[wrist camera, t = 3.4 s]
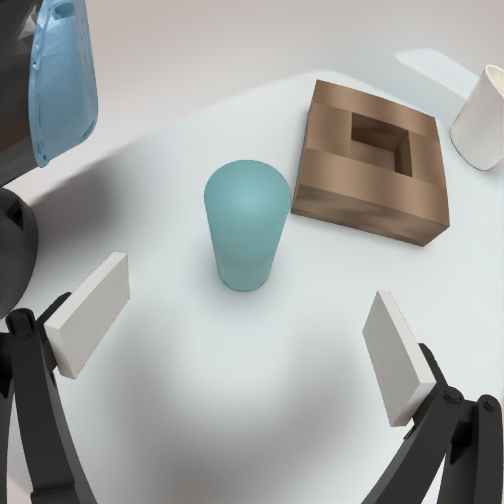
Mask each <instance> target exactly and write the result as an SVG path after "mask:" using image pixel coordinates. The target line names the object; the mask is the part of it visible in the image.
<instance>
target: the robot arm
mask: <svg viewBox="0 0 504 504" xmlns="http://www.w3.org/2000/svg"><path fill="white" fill-rule="evenodd" d="M97 117H98V98H97V88H96V79H95V71H94V63H93V55H92V48H91V40H90V33H89V25H88V18H87V11H86V5H85V0H0V318H2V317H3V316H5V315H6V314H7V313H8V312H9V311H10V310H11V309H12V308H13V307H14V305H15V304H16V303H17V301H18V300H19V299H20V297H21V295H22V294H23V292H24V290H25V288H26V286H27V284H28V281H29V279H30V276H31V273H32V270H33V266H34V262H35V258H36V252H37V226H36V221H35V218H34V215H33V213H32V211H31V209H30V207H29V206H28V205H27V204H26V203H25V202H24V201H23V200H22V199H21V198H20V197H19V196H18V195H16V194H15V193H14V192H12V191H10V190H8V189H5V188H2V187H3V186H4V185H6V184H8V183H9V182H11V181H13V180H15V179H16V178H18V177H20V176H21V175H23V174H25V173H27V172H28V171H30V170H32V169H34V168H36V167H40V168H43V167H45V166H46V165H47V164H48V163H49V161H50V160H51V159H53V158H55V157H57V156H58V155H60V154H62V153H64V152H65V151H67V150H69V149H71V148H73V147H75V146H77V145H78V144H81V143H82V142H83V141H85V140H86V139H87V138H88V137H89V136H90V134H91V133H92V131H93V130H94V128H95V125H96V122H97ZM129 299H130V291H129V277H128V260H127V253H121V252H115V251H114V252H113V253H112V254H111V255H110V256H109V257H108V258H107V259H106V260H105V261H104V262H103V263H102V264H101V265H100V266H99V267H98V268H97V269H96V270H95V271H94V272H93V273H92V274H91V275H90V276H89V277H88V278H87V279H86V280H85V281H84V282H83V283H82V284H81V285H80V286H79V287H78V288H77V289H76V290H75V291H74V292H73V293H70V292H67V293H65V294H63V295H61V296H59V297H58V298H57V299H56V300H55V301H54V302H53V304H51V305H50V306H49V307H48V309H46V310H45V312H44V313H43V314H42V315H41V316H40V317H39V318H38V319H37V320H36V321H35V317H34V314H33V312H32V311H31V310H30V309H27V308H19V309H16V310H13V311H12V312H10V313H9V314H8V315H7V316H6V319H5V322H6V324H7V327H8V330H9V333H2V332H0V504H7V487H6V485H7V484H6V483H7V482H6V481H7V450H8V436H9V426H10V417H11V409H12V401H13V395H14V393H15V402H16V409H17V416H18V423H19V428H20V434H21V439H22V444H23V449H24V454H25V458H26V462H27V466H28V470H29V474H30V478H31V482H32V485H33V492H32V493H31V497H30V498H31V502H32V504H97V502H96V500H95V498H94V495H93V493H92V491H91V488H90V486H89V484H88V481H87V479H86V476H85V474H84V471H83V469H82V466H81V464H80V461H79V458H78V455H77V453H76V450H75V447H74V444H73V441H72V438H71V435H70V432H69V429H68V425H67V422H66V419H65V415H64V412H63V408H62V404H61V400H60V397H59V393H58V388H57V384H56V380H55V376H54V373H53V370H54V369H55V367H56V366H57V367H58V369H59V372H60V375H63V376H65V377H68V378H71V379H74V380H75V379H76V377H77V376H78V374H79V373H80V371H81V369H82V368H83V366H84V365H85V363H86V362H87V360H88V359H89V357H90V356H91V354H92V352H93V351H94V349H95V348H96V346H97V345H98V343H99V342H100V340H101V339H102V337H103V336H104V335H105V333H106V332H107V330H108V329H109V327H110V326H111V324H112V323H113V321H114V320H115V318H116V317H117V316H118V314H119V313H120V311H121V310H122V308H123V307H124V306H125V304H126V303H127V301H128V300H129ZM362 333H363V336H364V339H365V342H366V345H367V348H368V351H369V355H370V358H371V361H372V364H373V367H374V371H375V374H376V377H377V381H378V384H379V387H380V391H381V394H382V398H383V401H384V405H385V408H386V412H387V416H388V419H389V423H390V427H397V426H406V425H407V424H408V422H409V421H410V420H411V418H413V421H414V426H413V427H412V428H411V430H410V431H409V432H408V433H407V434H406V436H405V437H404V438H403V439H404V442H403V443H402V445H401V447H400V448H399V450H398V452H397V453H396V455H395V456H394V458H393V459H392V461H391V462H390V464H389V466H388V467H387V469H386V470H385V471H384V473H383V474H382V476H381V477H380V479H379V480H378V482H377V483H376V484H375V486H374V487H373V489H372V490H371V491H370V493H369V494H368V495H367V497H366V498H365V499H364V501H363V502H362V503H361V504H421V502H422V501H423V499H424V497H425V495H426V493H427V491H428V489H429V487H430V485H431V483H432V481H433V479H434V477H435V475H436V473H437V471H438V469H439V467H440V465H441V462H442V460H443V458H444V456H445V453H446V456H445V463H444V469H443V475H442V480H441V485H440V490H439V495H438V500H437V504H501V502H502V490H503V425H502V412H501V406H500V403H499V402H498V400H497V399H495V398H494V397H493V396H491V395H486V394H485V395H482V396H481V397H480V398H479V399H478V401H477V402H474V401H469V400H465V399H464V397H463V395H462V394H461V392H460V391H459V390H457V389H456V388H454V387H451V386H448V384H447V382H446V380H445V378H444V376H443V374H442V372H441V370H440V368H439V366H438V364H437V362H436V360H434V359H435V358H434V356H433V354H432V352H431V350H430V349H429V348H428V347H427V346H426V345H425V344H423V343H417V341H416V339H415V337H414V335H413V333H412V331H411V329H410V327H409V325H408V323H407V321H406V320H405V318H404V316H403V314H402V312H401V310H400V308H399V307H398V305H397V303H396V301H395V299H394V297H393V296H392V294H391V292H388V291H380V290H377V293H376V296H375V299H374V302H373V304H372V307H371V310H370V313H369V315H368V318H367V321H366V323H365V326H364V328H363V331H362Z"/></svg>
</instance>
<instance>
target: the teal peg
mask: <svg viewBox="0 0 504 504" xmlns="http://www.w3.org/2000/svg"><path fill="white" fill-rule="evenodd" d="M204 202H205V207H206V212H207V217H208V222H209V227H210V232H211V237H212V242H213V247H214V252H215V257H216V262H217V266H218V271H219V275H220V277H221V279H222V281H223V282H224V283H225V284H226V285H227V286H228V287H230V288H231V289H233V290H236V291H241V292H248V291H252V290H255V289H257V288H259V287H260V286H261V285H262V284H263V283H264V282H265V281H266V279H267V277H268V275H269V272H270V268H271V265H272V262H273V259H274V256H275V253H276V249H277V246H278V243H279V240H280V236H281V233H282V230H283V227H284V223H285V220H286V217H287V214H288V210H289V207H290V202H291V193H290V188H289V186H288V183H287V181H286V180H285V178H284V177H283V176H282V175H281V173H280V172H278V171H277V170H276V169H275V168H273V167H272V166H270V165H268V164H266V163H263V162H260V161H255V160H239V161H234V162H231V163H228V164H226V165H224V166H222V167H221V168H219V169H218V170H217V171H216V172H215V173H214V174H213V175H212V176H211V177H210V179H209V180H208V182H207V184H206V187H205V191H204Z"/></svg>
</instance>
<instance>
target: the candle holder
mask: <svg viewBox="0 0 504 504" xmlns="http://www.w3.org/2000/svg"><path fill="white" fill-rule="evenodd" d="M450 135H451V139H452V142H453V144H454V146H455V148H456V149H457V151H458V152H459V153H460V155H461V156H462V157H463V158H464V159H465V160H466V161H467V162H468V163H470V164H471V165H472V166H474V167H476V168H478V169H480V170H490V169H492V168H493V167H494V166H495V165H497V164H498V163H499V162H500V161H501V160H503V159H504V70H503V69H501V68H499V67H497V66H494V65H487V66H486V67H485V69H484V71H483V73H482V75H481V77H480V79H479V81H478V82H477V84H476V86H475V88H474V89H473V91H472V93H471V95H470V96H469V98H468V100H467V101H466V103H465V105H464V107H463V108H462V110H461V112H460V113H459V115H458V116H457V118H456V120H455V121H454V123H453V125H452V127H451V130H450Z"/></svg>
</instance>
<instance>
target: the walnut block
mask: <svg viewBox="0 0 504 504" xmlns="http://www.w3.org/2000/svg"><path fill="white" fill-rule="evenodd" d="M291 213H293V214H297V215H302V216H306V217H310V218H314V219H319V220H323V221H327V222H331V223H335V224H339V225H343V226H347V227H351V228H355V229H359V230H363V231H367V232H371V233H375V234H378V235H382V236H386V237H390V238H394V239H397V240H401V241H405V242H408V243H412V244H415V245H419V246H423V247H424V246H425V245H426V244H428V243H429V242H430V241H432V240H433V239H434V238H436V237H437V236H438V235H439V234H441V233H442V232H443V231H445V230H446V229H447V228H448V227H450V222H449V209H448V198H447V189H446V180H445V173H444V166H443V159H442V153H441V147H440V141H439V136H438V131H437V126H436V121H435V118H434V117H432V116H429V115H427V114H424V113H422V112H419V111H417V110H414V109H412V108H409V107H406V106H404V105H401V104H398V103H395V102H392V101H389V100H387V99H384V98H381V97H377V96H374V95H371V94H368V93H365V92H361V91H358V90H355V89H351V88H348V87H344V86H340V85H337V84H333V83H329V82H325V81H321V80H317V81H316V85H315V89H314V93H313V97H312V101H311V105H310V109H309V114H308V120H307V126H306V132H305V137H304V143H303V149H302V154H301V160H300V165H299V171H298V176H297V182H296V187H295V193H294V198H293V203H292V208H291Z"/></svg>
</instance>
